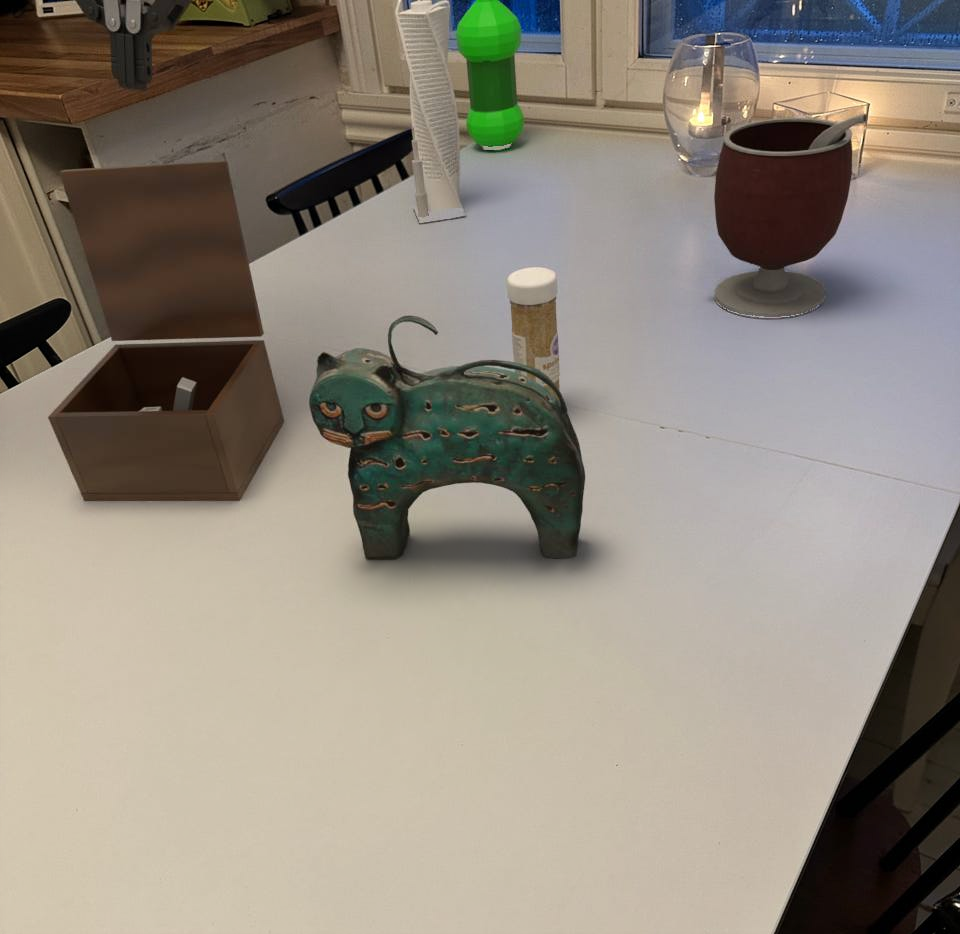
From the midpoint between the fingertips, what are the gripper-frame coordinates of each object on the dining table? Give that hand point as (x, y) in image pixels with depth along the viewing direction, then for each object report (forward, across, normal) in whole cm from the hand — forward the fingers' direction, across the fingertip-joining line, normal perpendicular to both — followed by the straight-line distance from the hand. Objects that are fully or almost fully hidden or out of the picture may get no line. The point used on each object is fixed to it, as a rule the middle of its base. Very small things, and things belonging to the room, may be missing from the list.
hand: (132, 88), depth 78 cm
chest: (+31, -2, -4) cm, 32 cm away
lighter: (+31, -2, -3) cm, 31 cm away
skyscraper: (+6, -14, -70) cm, 72 cm away
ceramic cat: (+32, -32, +9) cm, 46 cm away
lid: (+13, 0, -6) cm, 14 cm away
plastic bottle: (-5, -17, -100) cm, 102 cm away
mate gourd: (+12, -60, -36) cm, 70 cm away
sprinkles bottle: (+24, -36, -12) cm, 45 cm away
